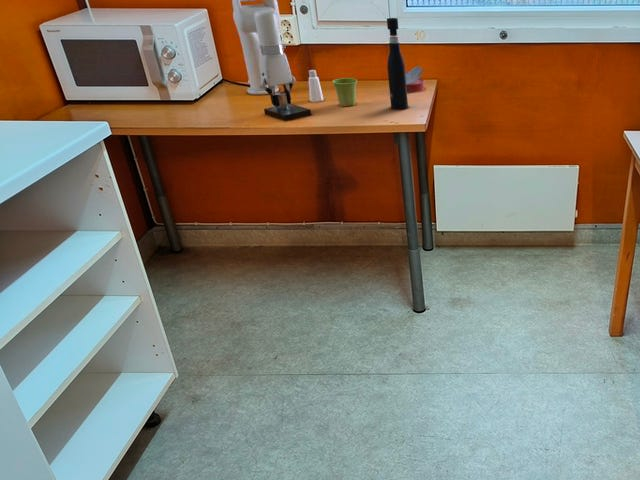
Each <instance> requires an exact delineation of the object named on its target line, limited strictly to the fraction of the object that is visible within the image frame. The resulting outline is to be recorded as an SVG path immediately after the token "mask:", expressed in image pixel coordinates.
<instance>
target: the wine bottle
mask: <svg viewBox="0 0 640 480" xmlns="http://www.w3.org/2000/svg"><path fill="white" fill-rule="evenodd" d="M386 26H387V30H388V31H389V38H388V39H389V43H388V47H389V53H388V58H387V78H388V88H389V100H390V108H391V110H394V111H403V110H407V109H408V108H409V103H408V92H407V87H406V65H405V61H404V57H403V54H402V53H401V46H400V42H399V41H400V40H399V37H398V30H399V19H398V17H388V18H386Z"/></svg>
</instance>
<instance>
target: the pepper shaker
mask: <svg viewBox="0 0 640 480" xmlns="http://www.w3.org/2000/svg"><path fill="white" fill-rule="evenodd" d="M308 74H309V75H308V76H309V77H308V91H309V92H308V95H309V102H312V103H319V102H323V101H324V99H325V98H324V95H323V91H322V86H321V82H320V78H319V77H318V75H317V70H315V69H310V70H308Z"/></svg>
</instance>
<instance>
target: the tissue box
mask: <svg viewBox="0 0 640 480" xmlns="http://www.w3.org/2000/svg"><path fill="white" fill-rule="evenodd" d="M422 68H423V67H422V66H416V67H413V68H411V69H409V71H407V72H405V74H406V87H407V93H418V92H422V91H424V90H425V81H424V80H423V79H420V78H421V76H422V73H423V69H422Z"/></svg>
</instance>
